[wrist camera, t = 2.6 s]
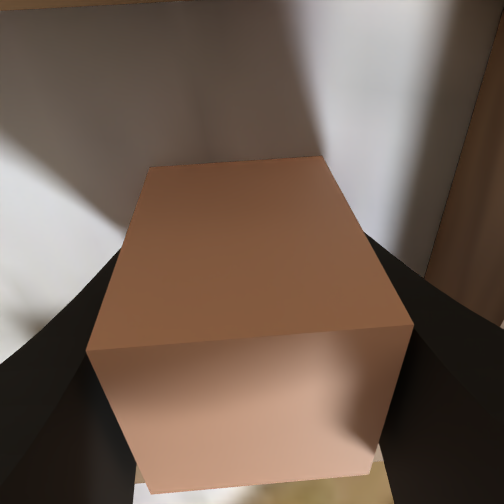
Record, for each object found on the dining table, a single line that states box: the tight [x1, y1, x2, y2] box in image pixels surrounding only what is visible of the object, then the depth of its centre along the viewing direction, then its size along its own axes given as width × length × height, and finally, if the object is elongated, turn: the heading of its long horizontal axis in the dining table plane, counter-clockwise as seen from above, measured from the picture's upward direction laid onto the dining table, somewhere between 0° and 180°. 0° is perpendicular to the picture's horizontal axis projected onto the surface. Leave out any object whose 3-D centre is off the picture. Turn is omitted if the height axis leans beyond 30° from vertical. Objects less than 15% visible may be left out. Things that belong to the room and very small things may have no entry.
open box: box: [0, 0, 504, 484], centre depth 10 cm, size 13×14×4 cm
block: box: [86, 156, 414, 494], centre depth 9 cm, size 4×4×6 cm
